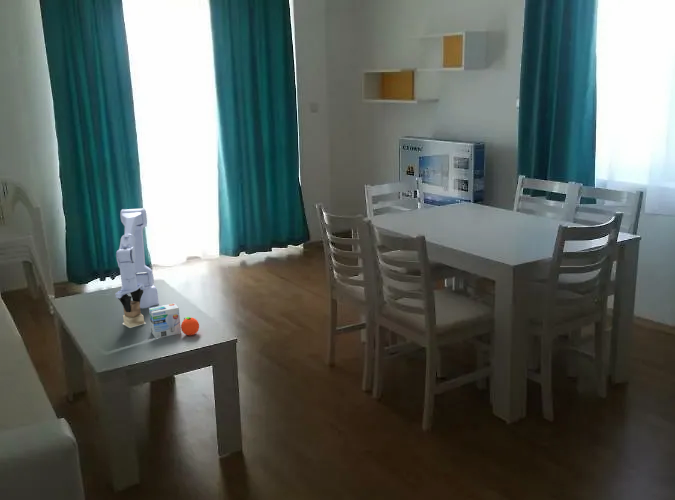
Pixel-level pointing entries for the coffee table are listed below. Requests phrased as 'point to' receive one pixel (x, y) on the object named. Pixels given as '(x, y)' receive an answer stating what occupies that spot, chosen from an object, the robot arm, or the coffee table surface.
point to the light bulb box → (165, 320)
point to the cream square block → (133, 320)
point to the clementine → (190, 326)
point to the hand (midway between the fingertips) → (132, 309)
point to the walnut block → (133, 309)
